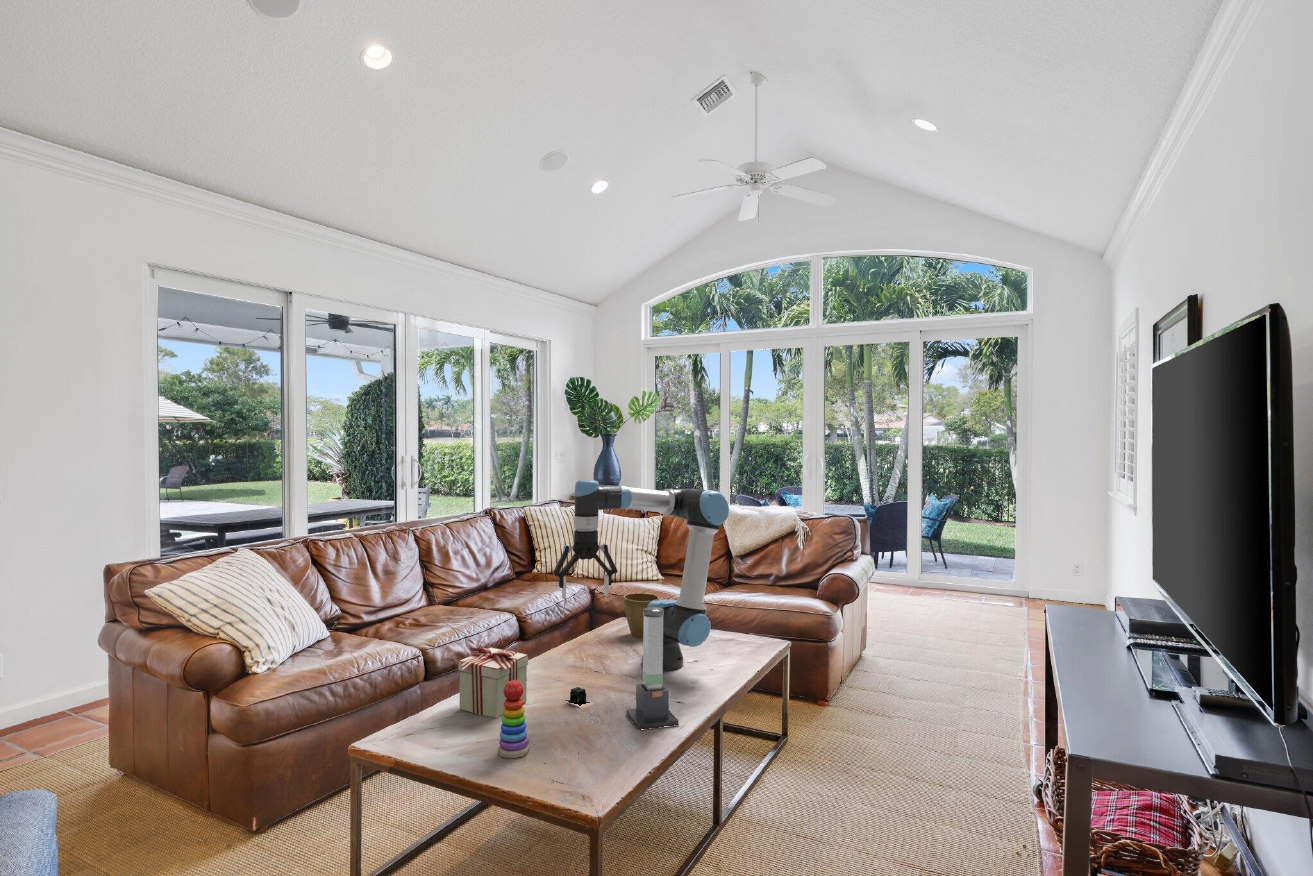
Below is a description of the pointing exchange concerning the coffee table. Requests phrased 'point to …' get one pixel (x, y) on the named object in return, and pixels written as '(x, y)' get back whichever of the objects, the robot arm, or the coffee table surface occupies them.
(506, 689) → the stacking toy
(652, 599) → the plant pot
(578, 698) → the black rectangular block
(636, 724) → the stand base
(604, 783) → the coffee table surface
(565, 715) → the coffee table surface
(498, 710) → the gift box
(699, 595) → the robot arm
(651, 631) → the stand post
